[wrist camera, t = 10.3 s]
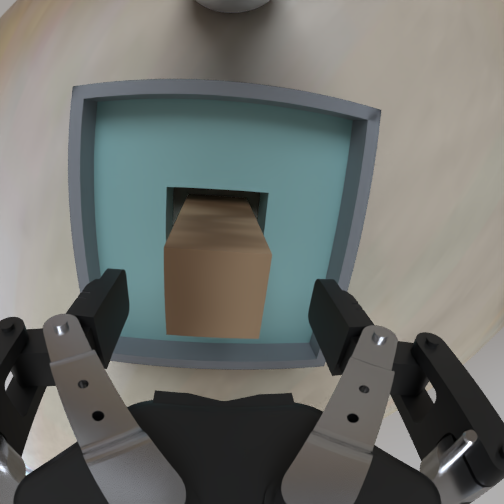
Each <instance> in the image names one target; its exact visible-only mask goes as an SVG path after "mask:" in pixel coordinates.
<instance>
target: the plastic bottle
mask: <svg viewBox="0 0 504 504" xmlns="http://www.w3.org/2000/svg"><path fill="white" fill-rule="evenodd" d="M196 1H197V2H198V3H199V4H201V5H202V6H204V7H206V8H208V9H211V10H214V11H218V12H225V13H240V12H246V11H250V10H253V9H256V8H258V7H260V6H262V5H264V4H266V3H267V2H268V1H270V0H196Z"/></svg>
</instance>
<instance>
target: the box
mask: <svg viewBox="0 0 504 504" xmlns="http://www.w3.org/2000/svg"><path fill="white" fill-rule="evenodd" d="M380 116H381V110H379V109H376V108H373V107H369V106H366V105H362V104H358V103H355V102H351V101H347V100H343V99H339V98H334V97H330V96H325V95H321V94H316V93H311V92H306V91H300V90H295V89H289V88H282V87H276V86H269V85H261V84H253V83H243V82H232V81H219V80H200V79H147V80H128V81H115V82H104V83H95V84H87V85H80V86H74V87H73V90H72V99H71V110H70V123H69V143H68V186H69V207H70V220H71V231H72V240H73V249H74V256H75V263H76V270H77V276H78V282H79V288H80V293H81V292H82V290H83V289H84V288H85V286H86V285H87V284H88V283H90V282H92V281H93V280H95V279H100V278H101V276H102V275H103V273H104V272H105V271H106V269H108V268H111V269H124V270H125V272H126V277H127V286H128V295H129V304H130V307H129V315H128V318H127V320H126V322H125V325H124V327H123V329H122V332H121V334H120V337H119V339H118V342H117V344H116V347H115V349H114V352H113V354H112V357H111V359H110V361H117V362H125V363H134V364H143V365H154V366H165V367H180V368H198V369H286V368H305V367H319V366H324V364H325V362H326V360H325V358H324V356H323V354H322V351H321V349H320V347H319V345H318V342H317V340H316V338H315V335H314V333H313V331H312V329H311V326H310V324H309V320H308V311H309V306H310V301H311V297H312V292H313V288H314V283H315V281H316V280H317V279H334V280H335V281H336V282H337V284H338V285H339V287H340V288H341V289H342V290H345V291H346V292H347V290H348V287H349V283H350V279H351V275H352V271H353V267H354V263H355V259H356V255H357V251H358V247H359V242H360V238H361V233H362V229H363V224H364V219H365V214H366V209H367V204H368V199H369V193H370V188H371V182H372V176H373V170H374V163H375V157H376V149H377V142H378V134H379V126H380ZM174 187H186V188H206V189H223V190H238V191H251V192H261V193H260V202H259V211H258V220H257V222H258V224H259V226H260V228H261V231H262V233H263V235H264V237H265V239H266V242H267V244H268V246H269V248H270V250H271V253H272V260H271V266H270V273H269V279H268V286H267V292H266V298H265V304H264V311H263V317H262V323H261V329H260V335H259V339H240V338H212V337H193V336H178V335H166V319H165V296H164V246H165V243H166V241H167V239H168V237H169V234H170V232H171V230H172V228H173V190H174Z"/></svg>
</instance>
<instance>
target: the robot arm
mask: <svg viewBox="0 0 504 504" xmlns="http://www.w3.org/2000/svg"><path fill="white" fill-rule="evenodd" d="M129 307H130V304H129V295H128V286H127V277H126V272H125V270H124V269H111V268H108V269H106V271H105V272H104V273H103V275H102V276H101V278H100V279H95V280H93V281H92V282H90V283H88V284H87V285H86V286H85V288H84V289H83V290H82V292H81V293H80V295H79V296H78V298H77V299H76V300H75V301H74V303H73V304H72V306H71V307H70V308H69V310H68V311H67V313H66V314H59V315H55V316H53V317H51V318H49V319H48V320H47V321H46V322H45V323H44V325H43V328H42V329H27V330H26V327H25V324H24V322H23V320H22V319H20V318H18V317H9V318H5V319H3V320H1V321H0V504H470V503H471V502H473V501H474V500H475V499H477V498H479V497H480V496H481V495H483V494H484V493H485V492H487V491H488V490H489V489H491V488H492V487H493V486H495V485H496V484H497V483H498V482H500V481H501V480H502V479H503V478H504V423H503V421H502V420H501V418H500V417H499V415H498V414H497V412H496V411H495V409H494V408H493V406H492V405H491V403H490V402H489V400H488V399H487V398H486V396H485V395H484V393H483V392H482V390H481V389H480V388H479V386H478V385H477V384H476V382H475V381H474V379H473V378H472V377H471V375H470V374H469V373H468V371H467V370H466V369H465V367H464V366H463V365H462V363H461V362H460V361H459V360H458V358H457V357H456V356H455V354H454V353H453V352H452V351H451V349H450V348H449V347H448V346H447V344H446V343H445V342H444V341H443V340H442V339H441V338H440V337H438V336H437V335H434V334H432V333H426V332H423V333H420V334H418V335H417V337H416V339H415V341H414V343H408V342H400V341H398V339H397V337H396V335H395V334H394V333H393V332H392V331H391V330H389V329H387V328H385V327H382V326H377V325H374V324H373V322H372V321H371V320H370V318H369V317H368V315H367V314H366V313H365V311H364V310H362V307H361V306H360V305H359V304H358V302H357V301H356V299H355V298H354V297H353V296H352V295H351V294H349V293H348V292H346V291H345V290H342V289H341V288H340V287H339V285H338V284H337V282H336V281H335V280H334V279H317V280H316V281H315V283H314V288H313V292H312V297H311V301H310V306H309V311H308V320H309V324H310V326H311V329H312V331H313V333H314V335H315V338H316V340H317V342H318V345H319V347H320V349H321V351H322V354H323V356H324V358H325V360H326V363H327V365H328V367H329V370H330V372H331V374H332V376H335V375H342V376H341V378H340V380H339V382H338V384H337V386H336V388H335V390H334V392H333V394H332V396H331V398H330V400H329V402H328V404H327V406H326V408H325V410H324V411H323V412H322V411H321V410H318V409H316V408H314V407H311V406H308V405H304V404H300V403H294V400H293V396H292V393H284V394H259V395H254V396H250V397H245V398H240V399H235V400H230V401H219V400H214V399H210V398H206V397H201V396H197V395H193V394H189V393H177V392H165V391H155V393H154V399H153V400H151V401H145V402H140V403H137V404H134V405H131V406H129V407H126V405H125V404H124V402H123V400H122V399H121V397H120V395H119V394H118V392H117V390H116V388H115V387H114V385H113V383H112V381H111V380H110V378H109V376H108V374H107V372H106V371H105V369H107V367H108V364H109V362H110V359H111V357H112V354H113V352H114V349H115V347H116V344H117V342H118V339H119V337H120V334H121V332H122V329H123V327H124V325H125V322H126V320H127V318H128V315H129ZM10 371H11V372H12V374H13V378H12V380H11V382H10V384H9V386H8V388H7V390H6V392H5V380H6V378H7V376H8V374H9V372H10ZM429 381H430V382H431V384H432V386H433V387H434V389H435V391H436V401H435V403H433V401H432V400H431V398H430V396H429V395H428V393H427V391H426V390H425V387H426V385H427V384H428V382H429ZM47 386H56V387H57V390H58V393H59V396H60V399H61V402H62V404H63V407H64V410H65V412H66V415H67V418H68V420H69V423H70V425H71V427H72V430H73V432H74V434H75V437H76V439H77V442H76V443H74V444H73V445H72V446H70V447H69V448H67V449H66V450H64V451H63V452H61V453H60V454H58V455H57V456H55V457H54V458H52V459H51V460H49V461H48V462H46V463H45V464H43V465H42V466H40V467H39V468H37V469H36V470H34V471H33V472H31V473H29V474H28V475H27V476H26V475H25V473H26V467H25V464H24V461H23V459H22V458H21V457H22V453H23V450H24V447H25V444H26V440H27V437H28V434H29V431H30V429H31V426H32V423H33V420H34V417H35V415H36V412H37V409H38V407H39V404H40V402H41V399H42V397H43V394H44V392H45V389H46V387H47ZM389 394H391V397H392V399H393V401H394V403H395V405H396V407H397V409H398V411H399V413H400V415H401V417H402V419H403V422H404V423H405V426H406V428H407V430H408V432H409V434H410V437H411V439H412V440H413V443H414V445H415V448H416V450H417V452H418V454H419V457H420V459H421V461H422V462H421V465H420V471H418V470H416V469H414V468H412V467H410V466H409V465H407V464H405V463H403V462H402V461H400V460H398V459H397V458H395V457H393V456H391V455H390V454H388V453H386V452H385V451H383V450H381V449H380V448H378V447H377V446H375V445H374V444H375V441H376V438H377V435H378V432H379V429H380V426H381V423H382V419H383V416H384V413H385V409H386V406H387V402H388V398H389Z"/></svg>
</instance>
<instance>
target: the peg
mask: <svg viewBox="0 0 504 504" xmlns="http://www.w3.org/2000/svg"><path fill="white" fill-rule="evenodd" d="M271 260H272V253H271V250H270V248H269V246H268V244H267V242H266V239H265V237H264V235H263V233H262V231H261V228H260V226H259V224H258V222H257V220H256V218H255V215H254V213H253V211H252V209H251V207H250V205H249V202H248V200H247V198H242V197H230V196H217V195H202V194H188V196H187V198H186V200H185V202H184V204H183V206H182V208H181V211H180V213H179V215H178V217H177V219H176V221H175V223H174V226H173V228H172V230H171V232H170V234H169V237H168V239H167V241H166V243H165V246H164V296H165V319H166V335H178V336H193V337H212V338H240V339H259V335H260V329H261V323H262V317H263V311H264V304H265V298H266V292H267V286H268V279H269V273H270V266H271Z"/></svg>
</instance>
